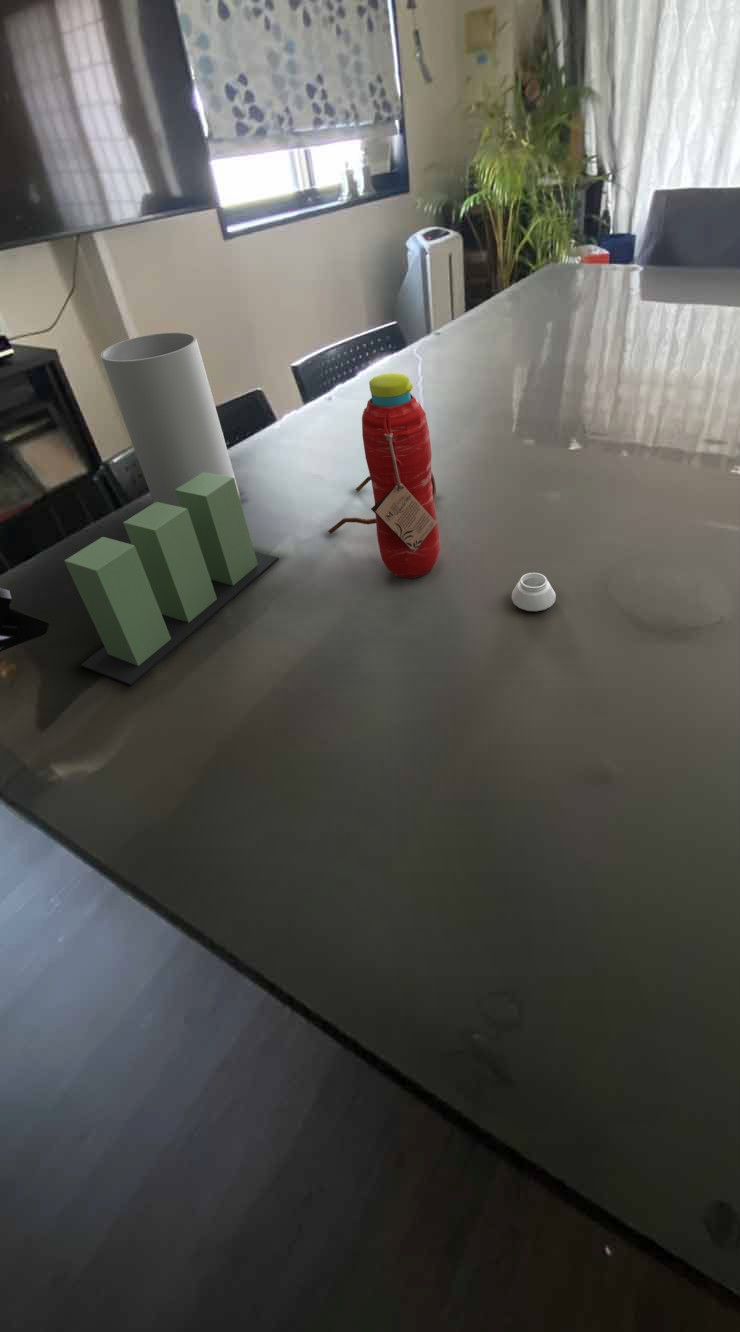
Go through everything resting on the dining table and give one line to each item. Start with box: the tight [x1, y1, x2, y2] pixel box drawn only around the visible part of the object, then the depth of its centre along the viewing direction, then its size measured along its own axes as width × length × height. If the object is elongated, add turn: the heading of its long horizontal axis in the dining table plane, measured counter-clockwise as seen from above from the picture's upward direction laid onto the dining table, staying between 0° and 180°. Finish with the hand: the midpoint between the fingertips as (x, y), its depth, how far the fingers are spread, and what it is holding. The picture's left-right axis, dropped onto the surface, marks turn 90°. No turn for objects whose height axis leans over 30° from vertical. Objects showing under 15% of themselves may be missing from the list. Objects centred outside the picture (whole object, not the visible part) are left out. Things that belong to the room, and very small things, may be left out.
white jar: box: [511, 572, 557, 612], centre depth 79 cm, size 5×3×5 cm
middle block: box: [123, 502, 217, 623], centre depth 81 cm, size 5×5×13 cm
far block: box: [175, 472, 258, 585], centre depth 86 cm, size 5×5×13 cm
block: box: [63, 536, 171, 666], centre depth 75 cm, size 5×5×13 cm
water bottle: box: [361, 372, 441, 579], centre depth 79 cm, size 12×8×25 cm, turn 176°
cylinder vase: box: [100, 331, 240, 507], centre depth 99 cm, size 12×12×25 cm
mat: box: [80, 551, 280, 687], centre depth 84 cm, size 26×8×1 cm, turn 153°
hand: (14, 616), depth 62 cm, fingers open, 9 cm apart
